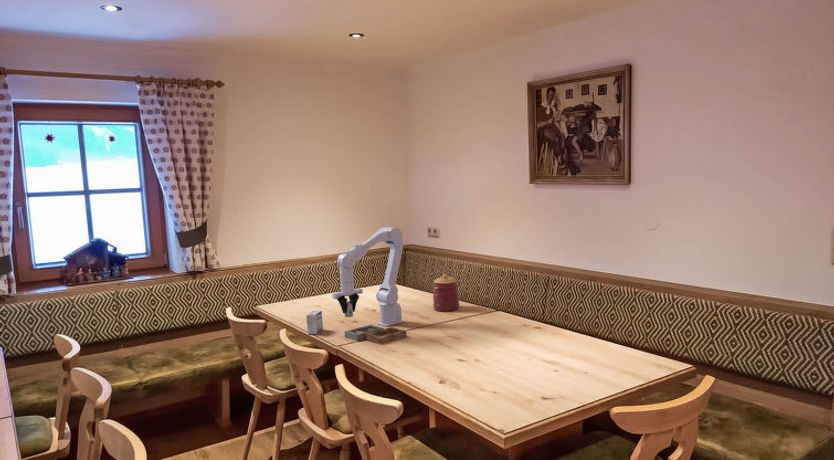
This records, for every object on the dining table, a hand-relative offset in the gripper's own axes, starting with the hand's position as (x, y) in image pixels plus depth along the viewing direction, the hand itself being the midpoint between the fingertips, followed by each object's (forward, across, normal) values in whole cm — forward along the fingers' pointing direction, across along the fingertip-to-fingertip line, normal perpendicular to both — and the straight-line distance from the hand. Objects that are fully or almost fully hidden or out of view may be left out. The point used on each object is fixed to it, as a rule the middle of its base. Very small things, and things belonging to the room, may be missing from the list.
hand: (348, 312), depth 262 cm
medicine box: (+9, +10, -12) cm, 18 cm away
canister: (+9, -56, +2) cm, 57 cm away
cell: (+2, 0, 0) cm, 2 cm away
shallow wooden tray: (+9, -5, +20) cm, 22 cm away
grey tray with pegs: (+9, -2, +9) cm, 13 cm away
